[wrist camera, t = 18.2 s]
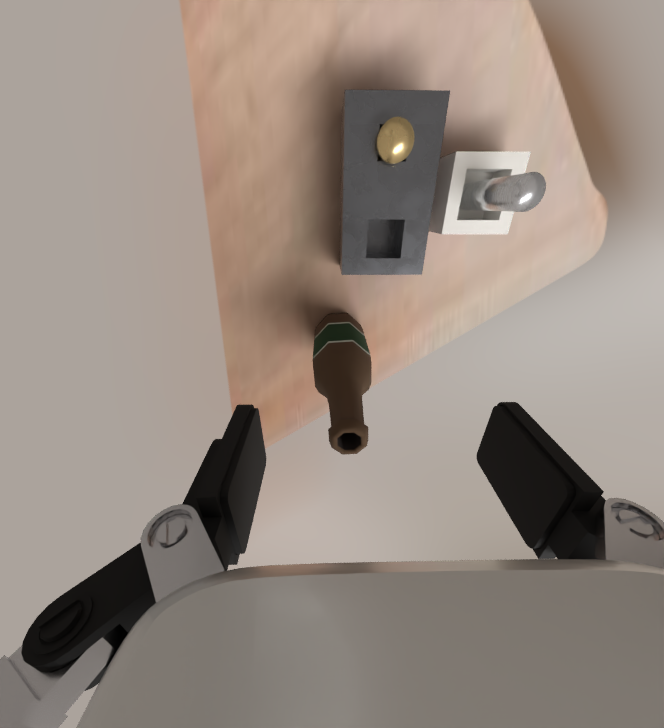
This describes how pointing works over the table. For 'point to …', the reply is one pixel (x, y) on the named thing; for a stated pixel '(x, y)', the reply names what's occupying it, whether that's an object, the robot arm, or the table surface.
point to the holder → (465, 170)
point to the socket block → (388, 181)
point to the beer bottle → (343, 379)
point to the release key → (395, 140)
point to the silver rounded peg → (504, 193)
